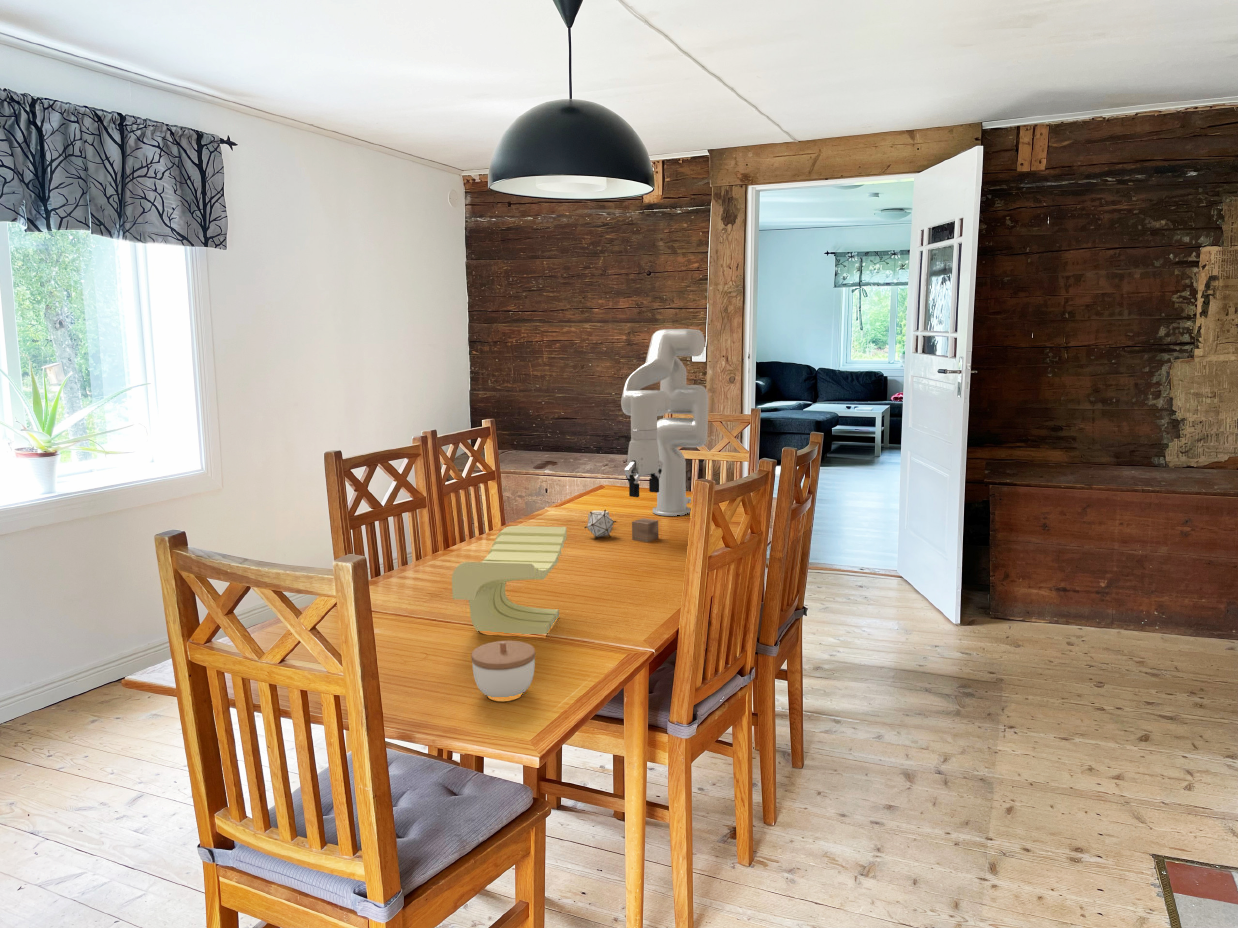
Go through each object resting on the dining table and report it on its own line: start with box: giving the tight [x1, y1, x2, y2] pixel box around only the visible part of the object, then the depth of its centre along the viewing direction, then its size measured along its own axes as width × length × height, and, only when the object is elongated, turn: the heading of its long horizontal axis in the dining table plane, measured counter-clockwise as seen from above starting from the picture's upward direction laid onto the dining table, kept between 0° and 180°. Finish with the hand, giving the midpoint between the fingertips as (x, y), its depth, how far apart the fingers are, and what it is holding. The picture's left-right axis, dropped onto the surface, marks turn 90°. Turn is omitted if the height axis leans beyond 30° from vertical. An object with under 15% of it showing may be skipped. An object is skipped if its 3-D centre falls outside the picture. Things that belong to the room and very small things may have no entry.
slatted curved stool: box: [451, 525, 568, 634], centre depth 180 cm, size 30×16×18 cm, turn 171°
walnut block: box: [631, 518, 659, 543], centre depth 252 cm, size 6×6×6 cm
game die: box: [584, 509, 618, 540], centre depth 255 cm, size 9×8×10 cm
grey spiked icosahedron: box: [587, 510, 610, 531], centre depth 267 cm, size 5×5×5 cm
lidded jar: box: [470, 640, 536, 697], centre depth 146 cm, size 11×11×9 cm
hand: (644, 494), depth 250 cm, fingers open, 9 cm apart
